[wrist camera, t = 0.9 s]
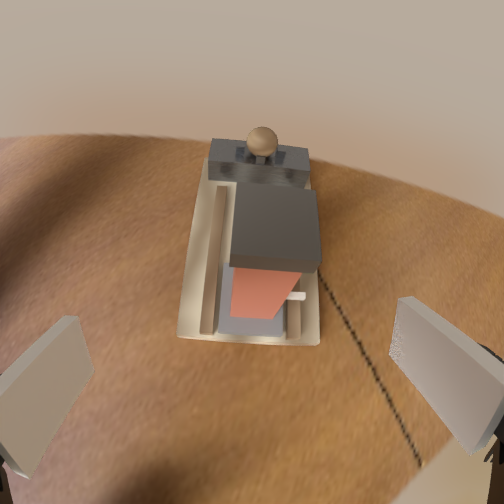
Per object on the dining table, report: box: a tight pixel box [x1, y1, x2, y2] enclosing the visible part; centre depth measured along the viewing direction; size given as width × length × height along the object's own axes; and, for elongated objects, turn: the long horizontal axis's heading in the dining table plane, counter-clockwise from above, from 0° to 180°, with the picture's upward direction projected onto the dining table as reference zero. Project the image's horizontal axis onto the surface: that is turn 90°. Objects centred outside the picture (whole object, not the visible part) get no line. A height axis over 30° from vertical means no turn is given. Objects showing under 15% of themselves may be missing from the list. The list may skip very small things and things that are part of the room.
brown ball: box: [247, 127, 278, 157], centre depth 32 cm, size 4×4×4 cm
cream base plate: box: [176, 157, 320, 346], centre depth 33 cm, size 14×23×3 cm, turn 177°
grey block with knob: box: [208, 138, 310, 189], centre depth 35 cm, size 12×4×5 cm, turn 87°
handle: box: [218, 182, 322, 337], centre depth 23 cm, size 8×7×15 cm
